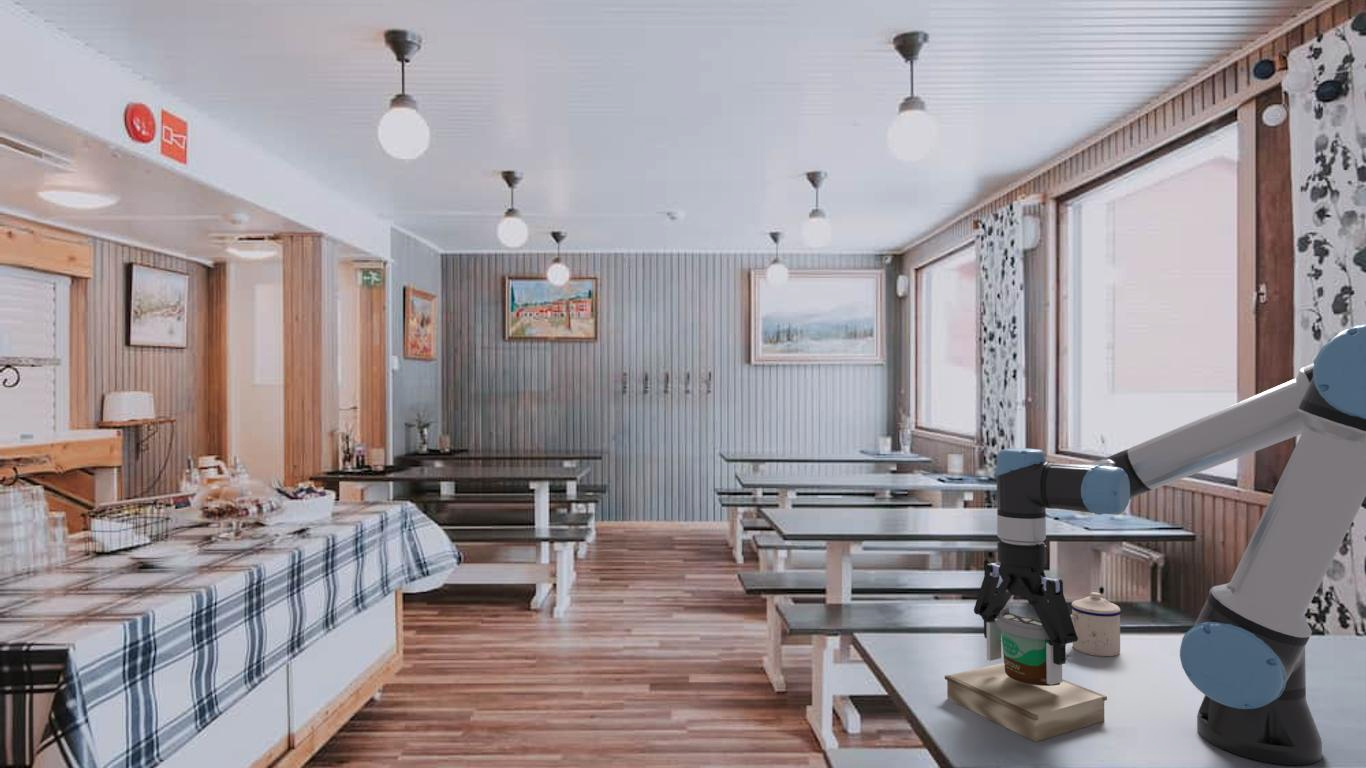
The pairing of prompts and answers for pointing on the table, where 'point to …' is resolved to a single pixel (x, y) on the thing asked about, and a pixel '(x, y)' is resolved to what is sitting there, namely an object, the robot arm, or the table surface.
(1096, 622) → the teacup with lid
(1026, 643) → the food container
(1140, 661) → the table surface
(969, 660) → the table surface
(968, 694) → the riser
